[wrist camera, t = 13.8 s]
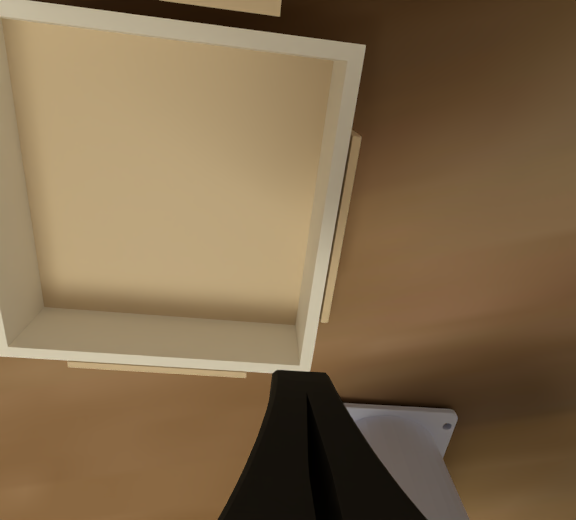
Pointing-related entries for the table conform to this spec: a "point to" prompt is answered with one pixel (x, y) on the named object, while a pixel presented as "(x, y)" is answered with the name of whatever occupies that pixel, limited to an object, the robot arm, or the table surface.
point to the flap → (239, 5)
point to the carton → (170, 190)
